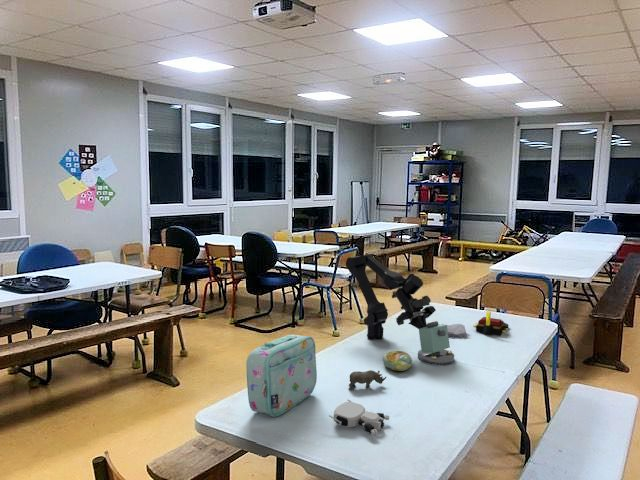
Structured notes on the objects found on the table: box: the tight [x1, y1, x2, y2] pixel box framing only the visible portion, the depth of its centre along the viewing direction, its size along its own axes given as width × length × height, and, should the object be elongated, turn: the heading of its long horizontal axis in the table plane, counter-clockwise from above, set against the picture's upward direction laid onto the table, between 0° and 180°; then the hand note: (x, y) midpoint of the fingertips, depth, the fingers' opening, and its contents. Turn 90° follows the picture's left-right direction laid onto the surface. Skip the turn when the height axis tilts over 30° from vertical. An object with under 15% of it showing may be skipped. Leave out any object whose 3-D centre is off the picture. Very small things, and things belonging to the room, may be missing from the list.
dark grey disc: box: [417, 349, 455, 366], centre depth 200 cm, size 14×14×3 cm
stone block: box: [440, 323, 467, 338], centre depth 232 cm, size 12×5×10 cm
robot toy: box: [328, 399, 390, 435], centre depth 146 cm, size 12×4×15 cm
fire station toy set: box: [473, 311, 509, 336], centre depth 239 cm, size 14×20×11 cm
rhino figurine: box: [348, 369, 387, 391], centre depth 173 cm, size 4×14×6 cm, turn 103°
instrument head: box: [418, 320, 451, 353], centre depth 200 cm, size 8×10×11 cm
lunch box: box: [245, 333, 318, 418], centre depth 158 cm, size 27×10×21 cm, turn 148°
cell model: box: [382, 350, 413, 372], centre depth 192 cm, size 11×8×15 cm
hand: (427, 332), depth 203 cm, fingers closed, pressing on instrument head
